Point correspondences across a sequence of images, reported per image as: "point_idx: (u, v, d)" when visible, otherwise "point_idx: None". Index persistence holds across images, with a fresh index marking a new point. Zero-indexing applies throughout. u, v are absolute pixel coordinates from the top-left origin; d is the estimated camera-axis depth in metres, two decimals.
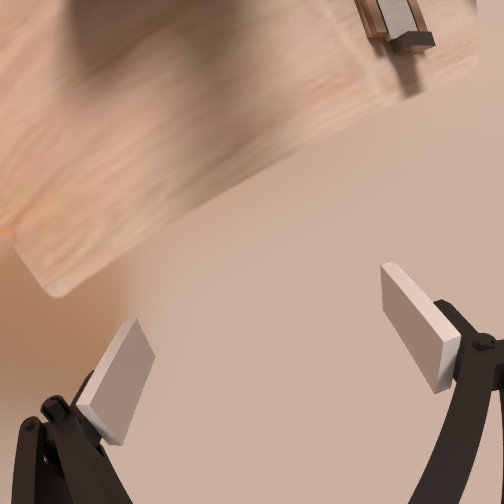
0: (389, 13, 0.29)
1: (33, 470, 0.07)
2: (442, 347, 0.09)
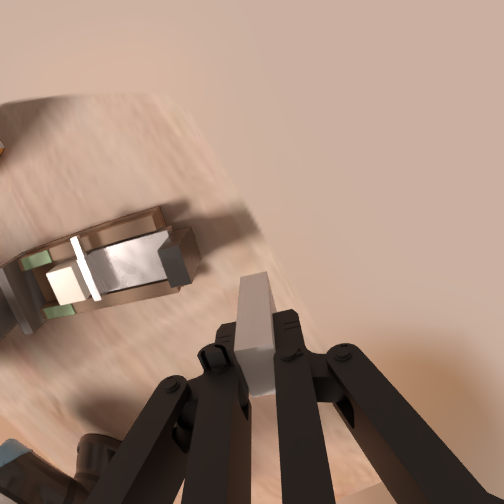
0: (144, 273, 0.31)
1: (151, 444, 0.08)
2: (255, 352, 0.12)
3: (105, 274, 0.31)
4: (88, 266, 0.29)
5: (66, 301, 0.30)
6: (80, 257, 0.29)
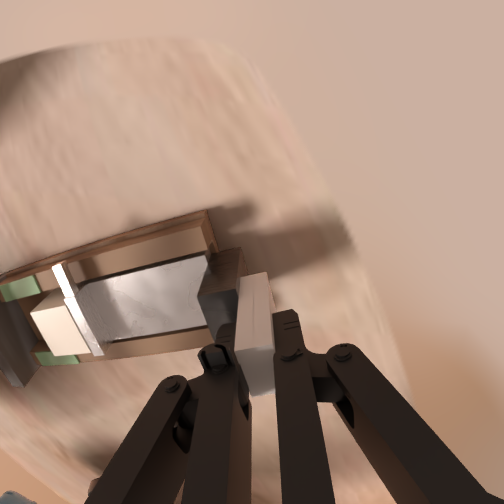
0: (167, 317, 0.21)
1: (151, 444, 0.08)
2: (254, 352, 0.12)
3: (108, 316, 0.21)
4: (82, 307, 0.19)
5: (62, 352, 0.20)
6: (68, 294, 0.18)
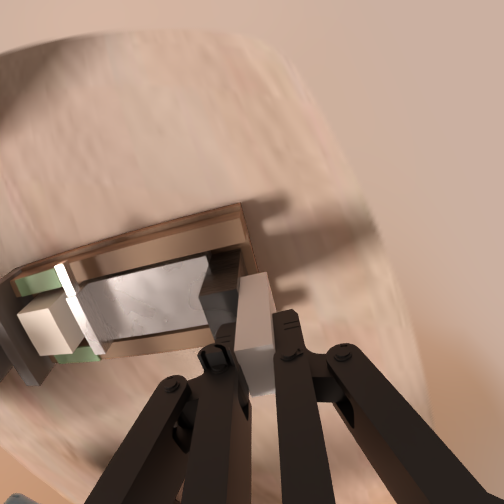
0: (167, 317, 0.21)
1: (151, 444, 0.08)
2: (255, 352, 0.12)
3: (109, 315, 0.21)
4: (84, 306, 0.19)
5: (47, 352, 0.20)
6: (70, 293, 0.18)
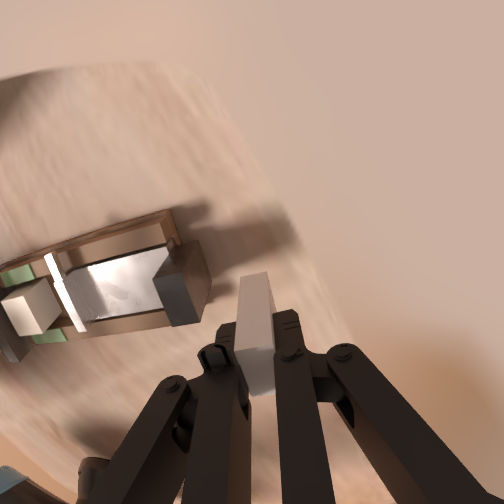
0: (138, 299, 0.24)
1: (151, 444, 0.08)
2: (255, 352, 0.12)
3: (90, 298, 0.24)
4: (68, 290, 0.22)
5: (24, 332, 0.24)
6: (57, 278, 0.22)
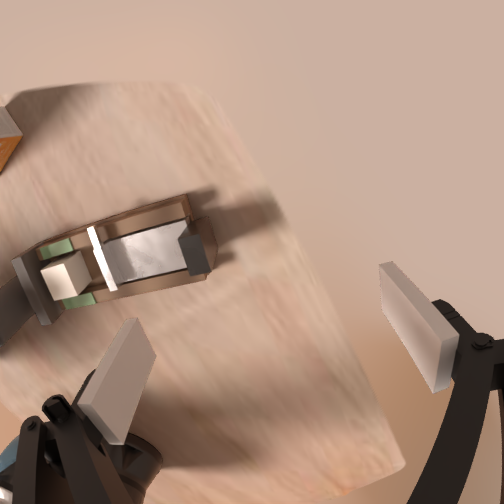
0: (160, 263, 0.32)
1: (34, 470, 0.07)
2: (440, 347, 0.09)
3: (121, 264, 0.32)
4: (105, 256, 0.30)
5: (59, 296, 0.31)
6: (96, 247, 0.29)
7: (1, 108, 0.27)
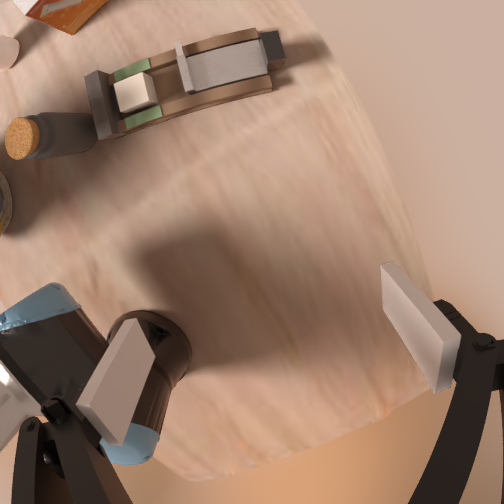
0: (234, 72, 0.34)
1: (33, 470, 0.07)
2: (442, 347, 0.09)
3: (196, 75, 0.34)
4: (186, 61, 0.32)
5: (128, 106, 0.33)
6: (179, 54, 0.31)
7: None
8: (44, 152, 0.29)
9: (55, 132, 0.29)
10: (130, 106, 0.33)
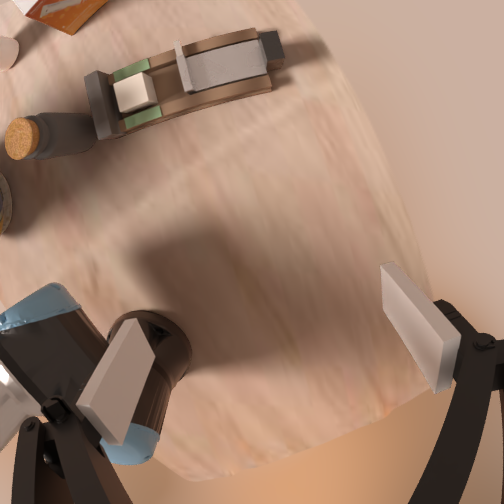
0: (233, 72, 0.34)
1: (33, 470, 0.07)
2: (442, 347, 0.09)
3: (196, 75, 0.34)
4: (186, 61, 0.32)
5: (127, 106, 0.33)
6: (179, 54, 0.31)
7: None
8: (44, 152, 0.29)
9: (54, 132, 0.29)
10: (130, 106, 0.33)
